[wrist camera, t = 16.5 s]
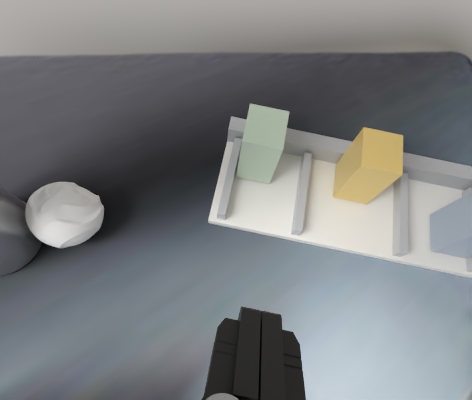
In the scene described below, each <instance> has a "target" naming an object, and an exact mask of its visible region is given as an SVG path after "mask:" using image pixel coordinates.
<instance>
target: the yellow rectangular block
mask: <svg viewBox="0 0 472 400" xmlns="http://www.w3.org/2000/svg"><path fill="white" fill-rule="evenodd" d="M402 175H403V135H399V134H394V133H390V132H385V131H380V130H375V129H370V128H365V127H363V129H362V130H361V131H360V133H359V134H358V135H357V137H356V138H355V139H354V141H353V142H352V143H351V145H350V146H349V147H348V149H347V150H346V151H345V153H344V154H343V155H342V157H341V158H340V159H339V161H338V162H337V163H336V169H335V179H334V189H333V197H334V198H339V199H343V200H348V201H353V202H358V203H362V204H367V203H369V202H370V201H371V200H372V199H373V198H375V197H376V196H377V195H378V194H380V193H381V192H382V191H383V190H385V189H386V188H387V187H388V186H389V185H391V184H392V183H393V182H394V181H396V180H397V179H398V178H399V177H400V176H402Z"/></svg>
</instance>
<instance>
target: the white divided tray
mask: <svg viewBox="0 0 472 400" xmlns="http://www.w3.org/2000/svg"><path fill="white" fill-rule="evenodd" d="M245 125H246V119H241V118H236V117H231V120H230V124H229V128H228V139H227V145H226V149H225V153H224V157H223V161H222V165H221V169H220V174H219V178H218V182H217V186H216V190H215V194H214V199H213V203H212V207H211V211H210V215H209V219H208V223H211V224H216V225H221V226H225V227H230V228H235V229H240V230H244V231H249V232H254V233H259V234H263V235H268V236H273V237H278V238H282V239H287V240H292V241H297V242H301V243H306V244H311V245H316V246H320V247H325V248H330V249H335V250H339V251H344V252H349V253H354V254H358V255H363V256H368V257H373V258H377V259H382V260H387V261H392V262H396V263H401V264H406V265H411V266H415V267H420V268H425V269H430V270H434V271H439V272H444V273H449V274H453V275H458V276H463V277H468V278H472V257H469V258H461V257H456V256H451V255H447V254H442V253H437V252H432V251H431V247H430V214H432V213H434V212H435V211H437V210H439V209H441V208H443V207H445V206H447V205H449V204H450V203H452V202H454V201H456V200H458V199H460V198H462V197H464V196H465V195H467V194H469V193H471V192H472V166H467V165H462V164H457V163H453V162H448V161H443V160H438V159H433V158H429V157H424V156H419V155H414V154H409V153H405V152H403V175H402V176H400V177H399V178H398V179H397V180H396V181H394V182H393V183H392V184H391V185H389V186H388V187H387V188H386V189H385V190H383V191H382V192H381V193H380V194H378V195H377V196H376V197H375V198H373V199H372V200H371V201H370V202H369V203H367V204H362V203H358V202H353V201H348V200H343V199H339V198H334V197H333V189H334V179H335V169H336V163H337V162H338V161H339V159H340V158H341V157H342V155H343V154H344V153H345V151H346V150H347V149H348V147H349V146H350V145H351V143H352V141H347V140H342V139H337V138H332V137H328V136H323V135H318V134H313V133H308V132H304V131H299V130H294V129H289V128H287V130H286V136H285V142H284V148H283V151H282V154H281V156H280V159H279V161H278V164H277V166H276V169H275V171H274V174H273V176H272V179H271V181H270V184H267V183H262V182H257V181H253V180H248V179H243V178H238V177H236V174H237V168H238V162H239V156H240V150H241V144H242V138H243V134H244V129H245Z"/></svg>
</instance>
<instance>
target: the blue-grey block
mask: <svg viewBox="0 0 472 400" xmlns="http://www.w3.org/2000/svg"><path fill="white" fill-rule="evenodd" d="M430 247H431V251H432V252H437V253H442V254H447V255H451V256H456V257H461V258H469V257H472V192H471V193H469V194H467V195H465V196H464V197H462V198H460V199H458V200H456V201H454V202H452V203H450V204H449V205H447V206H445V207H443V208H441V209H439V210H437V211H435V212H434V213H432V214H430Z"/></svg>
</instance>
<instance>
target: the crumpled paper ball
mask: <svg viewBox="0 0 472 400" xmlns="http://www.w3.org/2000/svg"><path fill="white" fill-rule="evenodd" d="M103 217H104V206H103V205H102V204H101V201H100V198H99V195H95V194H93V193H91V192H90V191H88V190H87V189H85V188H82V187H80V186H78V185H76V184H75V183H72V182H55V183H51V184H48V185H45V186H43V187H41V188H40V189H38V190H37V191H35V192H34V193H33V194H32V195H31V196H30V197H29V199H28V202H27V204H26V209H25V218H26V223H27V225H28V227H29V229H30V231H31V232H32V233H33V234H34V236H35V237H36V238H38V239H39V240H40V241H42V242H43V243H45V244H48V245H50V246H53V247H57V248H66V247H69V246H74V245H78V244H81V243H83V242H85V241H86V240H88V239H89V238H90V237H92V236H93V235H94V234H95V233H96V232H97V231H98V230H99V229H100V227H101V224H102V221H103Z"/></svg>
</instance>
